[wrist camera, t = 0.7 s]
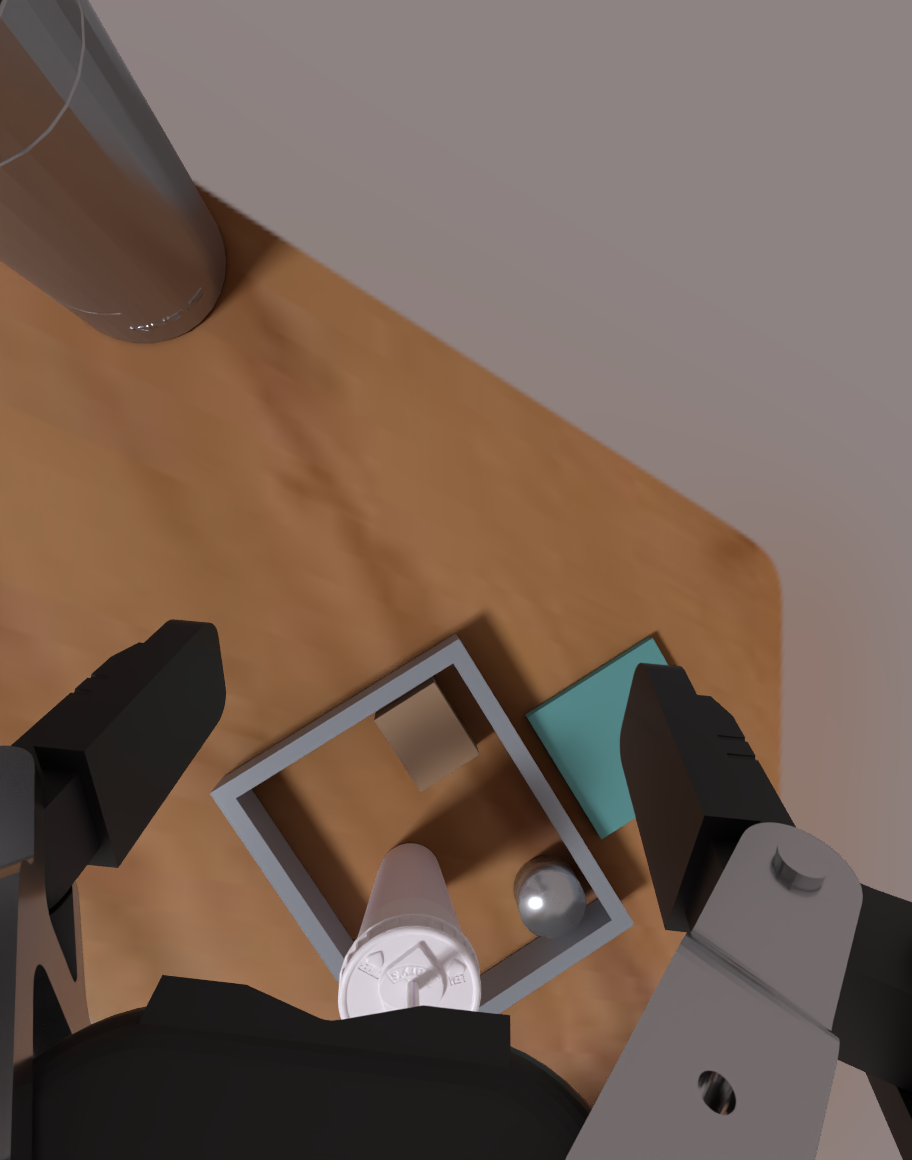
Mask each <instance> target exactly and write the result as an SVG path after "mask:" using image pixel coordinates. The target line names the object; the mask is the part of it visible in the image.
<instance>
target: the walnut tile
mask: <svg viewBox="0 0 912 1160" xmlns="http://www.w3.org/2000/svg"><path fill="white" fill-rule="evenodd" d="M374 721H375V722H376V724H377V725H378V727H379V729H380V730H381V732H382V733H383V735H384V736H385V738H386V739H387V741H388V742H389V744H390V746H391V747H392V749H393V750H394V752H395V753H396V755H397V756H398V758H399V759H400V761H401V763H402V764H403V766H404V767H405V769H406V770H407V772H408V773H409V775H410V776H411V778H412V779H413V781H414V783H415V784H416V786H417V787H418V789H419V790H420V792H422V791H424V790H425V789H427V788H428V787H430V786H432V785H433V784H435V783H436V782H438V781H439V780H441V779H442V778H444V777H446V776H447V775H449V774H450V773H452V772H453V771H455V770H456V769H458V768H460V767H461V766H463V765H464V764H466V763H467V762H469V761H470V760H472V759H474V758H475V757H477V756H478V755H480V754H479V751H478V748H477V746H476V744H475V742H474V741H473V739H472V737H471V736H470V734H469V733H468V731H467V730H466V728H465V726H464V725H463V723H462V722H461V720H460V718H459V717H458V715H457V714H456V712H455V711H454V709H453V707H452V706H451V704H450V703H449V701H448V700H447V698H446V696H445V695H444V693H443V692H442V690H441V688H440V687H439V685H438V684H437V682H436V681H435V679H434V677H433V676H432V677H431V678H429V679H428V680H426V681H424V682H423V683H421V684H420V685H418V686H417V687H415V688H413V689H412V690H410V691H409V692H407V693H405V694H404V695H402V696H401V697H399V698H398V699H396V700H394V701H393V702H391V703H390V704H388V705H386V706H385V707H383V708H382V709H380V710H378V711H377V712H376V713H375V719H374Z"/></svg>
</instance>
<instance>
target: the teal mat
mask: <svg viewBox="0 0 912 1160" xmlns="http://www.w3.org/2000/svg"><path fill="white" fill-rule="evenodd" d="M639 663H650V664H661V665H668V664H667V662H666V660H665V658H664V657H663V655H662V653H661V652H660V650H659V648H658V646H657V645H656V643H655V641H654V639H653V638H651V637H647V638H646V639H644V640H642V641H641V642H639V643H638V644H636V645H634V646H633V647H631V648H630V649H628V650H627V651H625V652H623V653H622V654H620V655H619V656H617V657H615V658H614V659H612V660H611V661H609V662H608V663H606V664H604V665H603V666H601V667H600V668H598V669H596V670H595V671H593V672H592V673H590V674H589V675H587V676H585V677H584V678H582V679H581V680H579V681H577V682H576V683H574V684H573V685H571V686H570V687H568V688H566V689H565V690H563V691H562V692H560V693H558V694H557V695H555V696H554V697H552V698H551V699H549V700H547V701H546V702H544V703H543V704H541V705H539V706H538V707H536V708H535V709H533V710H532V711H530V712H528V713H527V714H525V715H526V717H527V719H528V720H529V722H530V724H531V725H532V727H533V728H534V730H535V732H536V733H537V735H538V737H539V738H540V740H541V742H542V743H543V745H544V746H545V748H546V750H547V751H548V753H549V755H550V756H551V758H552V760H553V761H554V763H555V764H556V766H557V768H558V769H559V771H560V773H561V774H562V776H563V778H564V779H565V781H566V782H567V784H568V786H569V787H570V789H571V791H572V792H573V794H574V796H575V797H576V799H577V801H578V802H579V804H580V805H581V807H582V809H583V810H584V812H585V814H586V815H587V817H588V819H589V820H590V822H591V823H592V825H593V827H594V828H595V830H596V832H597V833H598V835H599V836H600V838H601V839H603V838H605V837H606V836H608V835H610V834H611V833H613V832H614V831H616V830H617V829H619V828H620V827H622V826H623V825H625V824H626V823H628V822H630V821H631V820H633V819H634V818H636V817H635V813H634V809H633V805H632V802H631V798H630V794H629V790H628V786H627V783H626V779H625V775H624V771H623V767H622V763H621V758H620V733H621V727H622V722H623V718H624V714H625V710H626V705H627V701H628V697H629V692H630V688H631V684H632V680H633V675H634V672H635V669H636V667H637V665H638V664H639Z"/></svg>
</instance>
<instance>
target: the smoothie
mask: <svg viewBox="0 0 912 1160" xmlns="http://www.w3.org/2000/svg"><path fill="white" fill-rule="evenodd" d="M480 999H481V981H480V968H479V964H478V959H477V955H476V953H475V951H474V949H473V947H472V945H471V943H470V942H469V940H468V938H467V937H466V936H465V935H464V934H463V933H462V931H461V928H460V925H459V922H458V920H457V917H456V914H455V911H454V908H453V905H452V902H451V899H450V896H449V893H448V890H447V887H446V884H445V881H444V878H443V875H442V872H441V869H440V866H439V863H438V861H437V859H436V857H435V855H434V854H433V853H432V852H431V851H430V850H429V849H428V848H426V847H424V846H422V845H419V844H415V843H407V844H402V845H399V846H397V847H395V848H393V849H392V850H390V851H389V852H388V853H387V854H386V855H385V857H384V858H383V860H382V862H381V864H380V867H379V870H378V874H377V877H376V880H375V883H374V886H373V890H372V893H371V896H370V899H369V902H368V906H367V909H366V912H365V915H364V918H363V922H362V925H361V928H360V931H359V934H358V937H357V939H356V940H355V941H354V943H353V945H352V946H351V948H350V949H349V951H348V953H347V954H346V956H345V958H344V962H343V965H342V968H341V971H340V976H339V993H338V1006H339V1012H340V1016H341V1020H342V1019H348V1018H353V1017H359V1016H365V1015H370V1014H376V1013H382V1012H388V1011H393V1010H399V1009H405V1008H411V1007H416V1006H422V1005H425V1006H433V1007H442V1008H451V1009H459V1010H468V1011H476V1012H478V1009H479V1005H480Z"/></svg>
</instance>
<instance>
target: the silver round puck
mask: <svg viewBox="0 0 912 1160" xmlns="http://www.w3.org/2000/svg"><path fill="white" fill-rule="evenodd" d="M514 896H515V900H516V903H517V906H518V909H519V912H520V916H521V918H522V921H523V923H524V924H525V926H526V927H527V928H528V929H529V930H530V931H531V932H532V933H534V934H536V935H538V936H540V937H544V938H558V937H561V936H564V935H566V934H568V933H570V932H571V931H572V930H574V929H575V928H576V927H577V926H578V924H579V923H580V922H581V920H582V918H583V916H584V913H585V909H586V897H585V893H584V890H583V888H582V887H581V885H580V883H579V881H578V879H577V877H576V875H575V873H574V871H573V869H572V868H571V867H570V865H569V864H568V863H567V862H565V861H564V860H562V859H560V858H558V857H555V856H549V855H548V856H539V857H536V858H533V859H531V860H530V861H528V862H527V863H525V864H524V865H523V866H522V867H521V869H520V870H519V872H518V873H517V875H516V878H515V881H514Z"/></svg>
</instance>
